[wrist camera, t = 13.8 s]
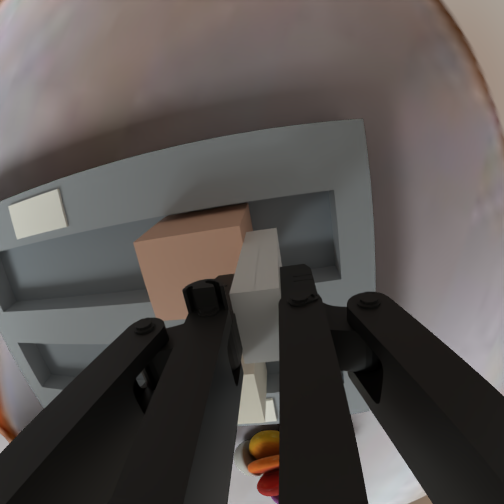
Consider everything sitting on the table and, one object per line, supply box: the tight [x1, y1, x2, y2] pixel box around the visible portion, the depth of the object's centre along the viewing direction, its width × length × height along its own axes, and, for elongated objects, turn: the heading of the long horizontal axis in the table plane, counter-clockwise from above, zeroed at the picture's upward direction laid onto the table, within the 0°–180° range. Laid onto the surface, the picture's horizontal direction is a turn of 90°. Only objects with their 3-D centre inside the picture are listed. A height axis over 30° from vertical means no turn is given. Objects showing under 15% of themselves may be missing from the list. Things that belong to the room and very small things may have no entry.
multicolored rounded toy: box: [234, 430, 279, 504], centre depth 25 cm, size 8×10×7 cm
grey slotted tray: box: [0, 119, 376, 426], centre depth 21 cm, size 30×20×4 cm, turn 100°
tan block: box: [133, 203, 253, 321], centre depth 17 cm, size 5×4×5 cm
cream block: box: [238, 354, 267, 424], centre depth 20 cm, size 5×4×5 cm
